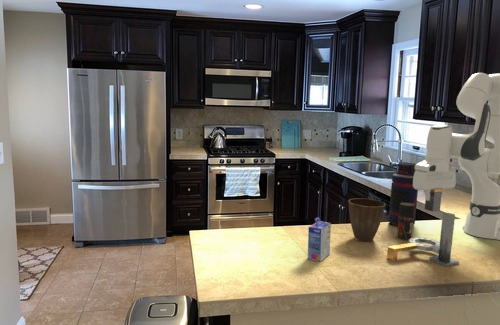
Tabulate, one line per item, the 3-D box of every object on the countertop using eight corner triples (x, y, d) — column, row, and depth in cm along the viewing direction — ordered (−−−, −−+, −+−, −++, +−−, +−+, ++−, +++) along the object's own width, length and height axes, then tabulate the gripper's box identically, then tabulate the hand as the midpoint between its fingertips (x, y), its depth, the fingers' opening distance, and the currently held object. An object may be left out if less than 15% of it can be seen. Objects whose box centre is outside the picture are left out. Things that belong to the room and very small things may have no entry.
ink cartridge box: (316, 250, 159) (318, 214, 157) (330, 254, 156) (332, 216, 154) (306, 258, 150) (308, 220, 148) (320, 262, 147) (323, 222, 145)
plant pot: (351, 231, 185) (354, 196, 183) (385, 237, 177) (389, 201, 175) (341, 240, 172) (343, 202, 170) (377, 247, 165) (380, 208, 162)
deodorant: (399, 234, 182) (402, 201, 180) (413, 237, 178) (416, 204, 176) (395, 237, 178) (398, 204, 175) (409, 241, 174) (412, 206, 172)
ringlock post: (423, 246, 167) (427, 203, 165) (463, 263, 151) (468, 215, 148) (379, 253, 157) (382, 208, 155) (416, 272, 141) (421, 221, 139)
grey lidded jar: (431, 208, 169) (433, 186, 167) (441, 211, 164) (443, 188, 163) (423, 208, 167) (425, 187, 165) (432, 211, 162) (435, 189, 161)
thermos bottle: (406, 229, 190) (411, 165, 185) (383, 223, 199) (388, 162, 194) (421, 225, 198) (427, 163, 194) (398, 219, 208) (404, 160, 203)
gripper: (448, 163, 170) (444, 196, 172) (411, 165, 162) (408, 199, 163) (461, 166, 165) (458, 200, 166) (424, 167, 156) (421, 203, 158)
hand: (433, 199), depth 165 cm, fingers closed on grey lidded jar, 4 cm apart
